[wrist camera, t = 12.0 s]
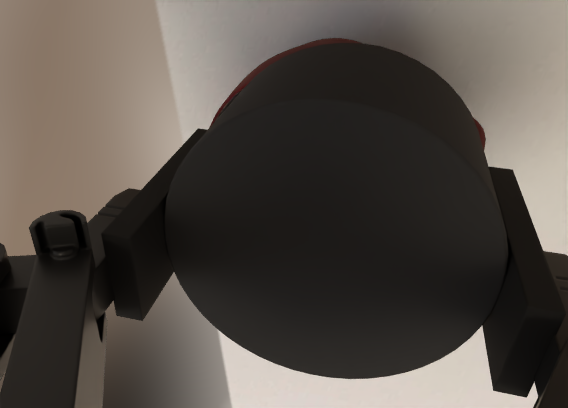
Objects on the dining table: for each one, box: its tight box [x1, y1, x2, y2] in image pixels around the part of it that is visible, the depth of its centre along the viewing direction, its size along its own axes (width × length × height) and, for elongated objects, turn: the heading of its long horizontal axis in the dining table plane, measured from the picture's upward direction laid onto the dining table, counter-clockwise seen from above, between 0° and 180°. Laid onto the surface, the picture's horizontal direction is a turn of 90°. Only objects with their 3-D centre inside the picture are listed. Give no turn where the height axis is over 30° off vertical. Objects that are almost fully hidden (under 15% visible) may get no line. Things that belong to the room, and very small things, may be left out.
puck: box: [164, 43, 508, 379], centre depth 15 cm, size 9×9×5 cm
